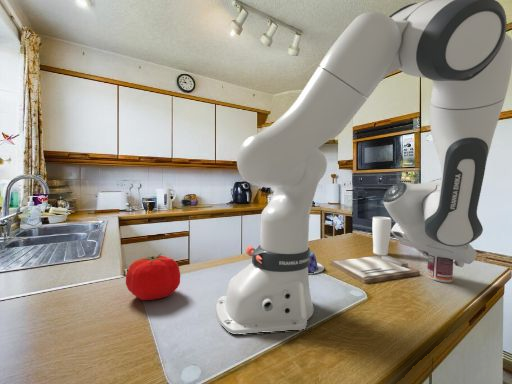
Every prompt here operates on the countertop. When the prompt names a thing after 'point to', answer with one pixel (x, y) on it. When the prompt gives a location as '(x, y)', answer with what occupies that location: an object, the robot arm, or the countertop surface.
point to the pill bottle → (440, 268)
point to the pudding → (314, 264)
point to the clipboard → (375, 268)
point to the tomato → (153, 277)
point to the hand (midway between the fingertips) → (442, 259)
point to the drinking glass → (381, 235)
